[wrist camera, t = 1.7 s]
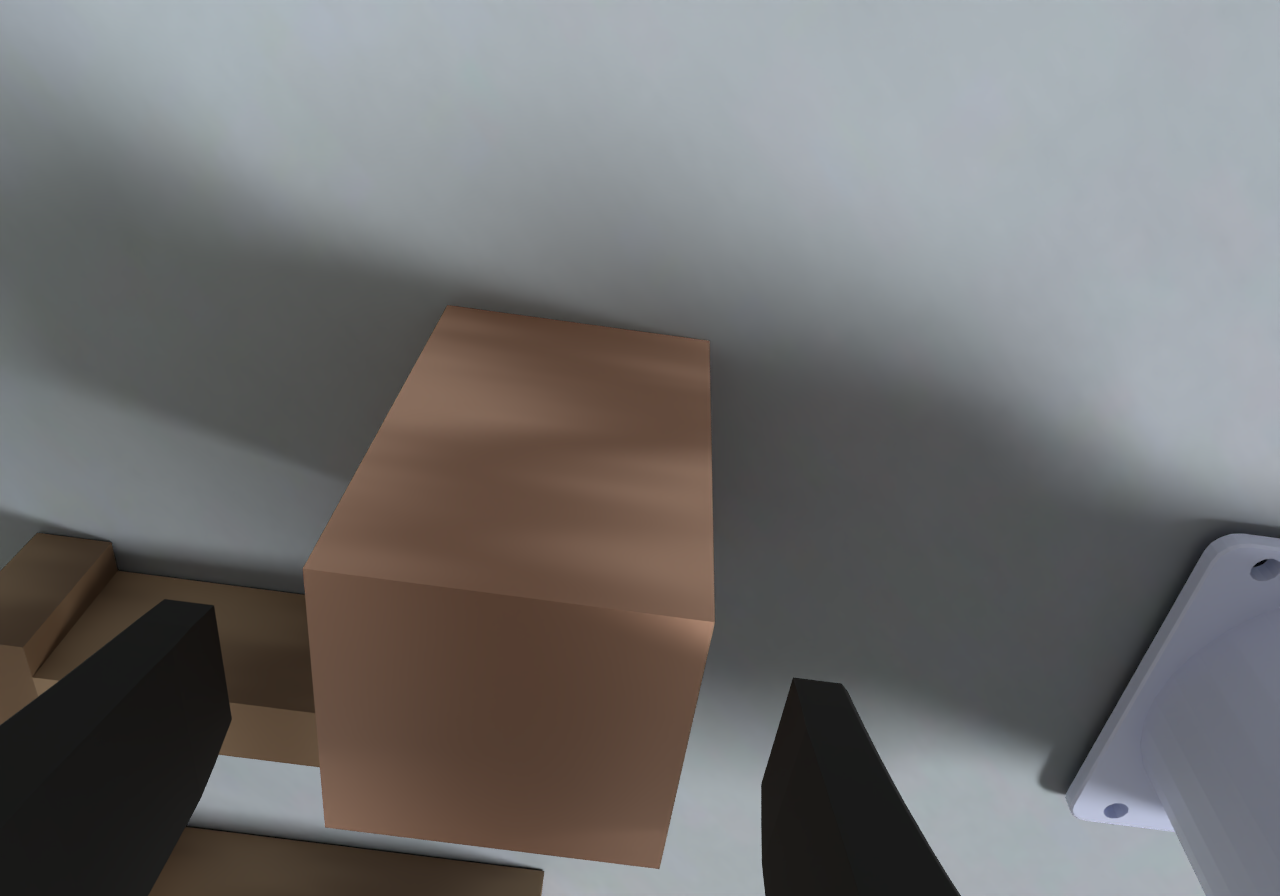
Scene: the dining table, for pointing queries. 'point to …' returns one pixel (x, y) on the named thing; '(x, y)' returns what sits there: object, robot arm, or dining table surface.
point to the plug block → (520, 593)
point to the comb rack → (260, 728)
